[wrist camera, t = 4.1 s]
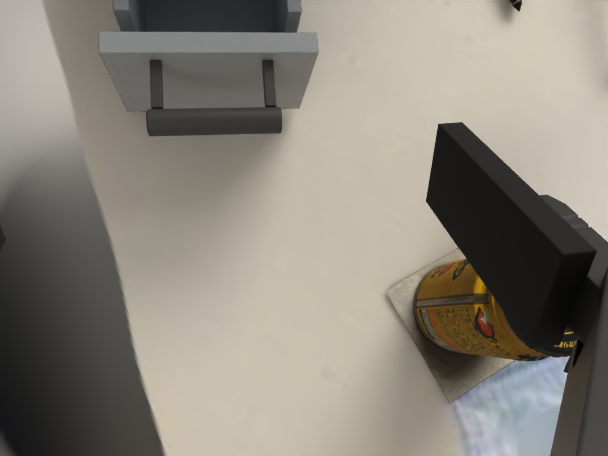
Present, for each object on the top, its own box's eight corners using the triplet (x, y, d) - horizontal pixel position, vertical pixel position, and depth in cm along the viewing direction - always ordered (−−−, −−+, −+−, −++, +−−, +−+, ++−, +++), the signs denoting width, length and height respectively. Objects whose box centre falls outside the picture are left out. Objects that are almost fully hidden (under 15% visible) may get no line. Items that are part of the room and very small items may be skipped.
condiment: (470, 240, 37) (580, 204, 26) (532, 347, 37) (675, 359, 25) (384, 290, 36) (460, 276, 24) (447, 402, 35) (557, 443, 24)
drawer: (304, 166, 36) (324, 124, 28) (128, 172, 34) (99, 129, 26) (285, -68, 39) (300, -163, 31) (122, -74, 37) (95, -176, 29)
